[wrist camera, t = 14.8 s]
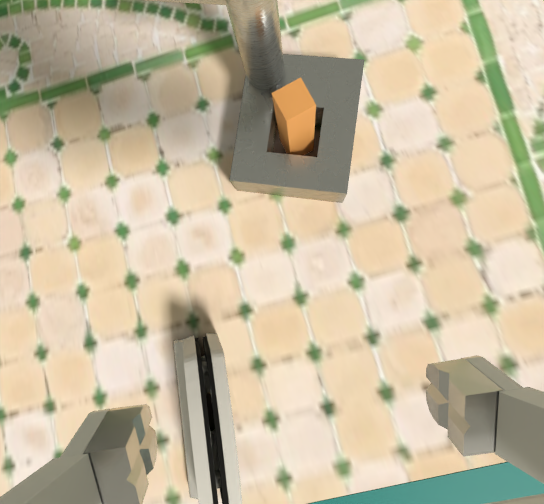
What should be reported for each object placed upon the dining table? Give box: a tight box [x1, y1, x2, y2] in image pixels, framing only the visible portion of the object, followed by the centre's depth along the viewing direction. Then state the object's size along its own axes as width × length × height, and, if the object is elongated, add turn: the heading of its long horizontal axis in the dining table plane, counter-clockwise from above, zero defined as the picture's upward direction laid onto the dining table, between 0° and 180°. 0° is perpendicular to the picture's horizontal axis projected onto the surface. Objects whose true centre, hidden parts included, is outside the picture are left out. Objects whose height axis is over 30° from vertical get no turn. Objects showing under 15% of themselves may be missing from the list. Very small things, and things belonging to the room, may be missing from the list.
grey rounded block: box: [173, 333, 242, 504], centre depth 33 cm, size 17×5×10 cm, turn 8°
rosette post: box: [144, 0, 364, 203], centre depth 28 cm, size 20×14×22 cm
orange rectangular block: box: [272, 77, 316, 156], centre depth 33 cm, size 3×3×10 cm
